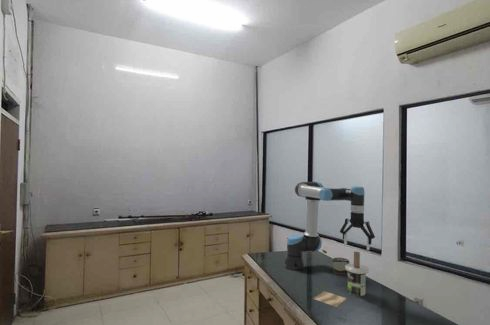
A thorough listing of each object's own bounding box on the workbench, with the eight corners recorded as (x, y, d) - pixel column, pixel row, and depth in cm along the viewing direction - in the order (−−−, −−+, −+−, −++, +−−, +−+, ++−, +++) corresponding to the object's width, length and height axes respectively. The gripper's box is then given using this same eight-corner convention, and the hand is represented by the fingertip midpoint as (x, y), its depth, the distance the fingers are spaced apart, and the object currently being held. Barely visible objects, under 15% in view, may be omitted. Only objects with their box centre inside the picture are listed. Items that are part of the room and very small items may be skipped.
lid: (341, 269, 169) (341, 252, 169) (350, 264, 179) (350, 248, 179) (363, 275, 160) (364, 257, 161) (371, 269, 170) (371, 252, 170)
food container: (347, 271, 206) (347, 257, 207) (349, 274, 200) (349, 260, 200) (330, 270, 208) (330, 256, 208) (331, 273, 201) (332, 259, 202)
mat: (312, 299, 160) (312, 298, 160) (324, 292, 170) (324, 291, 170) (336, 308, 150) (336, 306, 150) (346, 299, 161) (346, 298, 161)
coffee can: (352, 297, 164) (352, 273, 164) (344, 290, 174) (344, 267, 174) (369, 297, 164) (369, 272, 165) (360, 289, 175) (360, 266, 175)
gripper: (334, 210, 176) (334, 244, 176) (377, 215, 159) (376, 253, 159) (339, 209, 182) (339, 241, 181) (381, 214, 165) (380, 250, 165)
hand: (356, 247), depth 170 cm, fingers open, 13 cm apart
